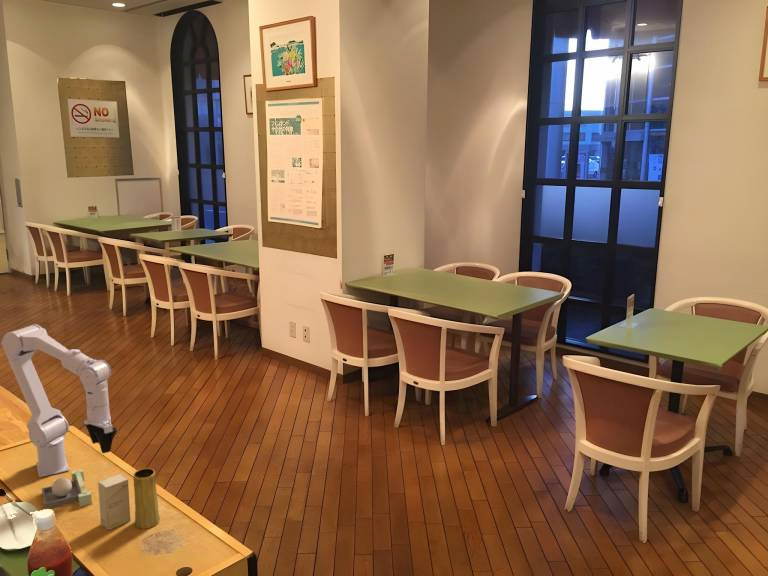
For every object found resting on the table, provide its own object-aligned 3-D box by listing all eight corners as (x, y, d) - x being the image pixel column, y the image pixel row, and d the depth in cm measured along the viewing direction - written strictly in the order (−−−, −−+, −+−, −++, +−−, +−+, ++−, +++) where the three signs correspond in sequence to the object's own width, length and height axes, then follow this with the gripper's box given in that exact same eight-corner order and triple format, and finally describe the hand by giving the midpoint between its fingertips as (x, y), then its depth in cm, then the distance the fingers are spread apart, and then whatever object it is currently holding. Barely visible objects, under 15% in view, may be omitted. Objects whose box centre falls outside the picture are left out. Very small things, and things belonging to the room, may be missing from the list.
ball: (51, 494, 178) (49, 477, 177) (71, 489, 180) (69, 472, 179) (53, 501, 173) (51, 485, 172) (73, 496, 176) (72, 480, 175)
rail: (72, 480, 185) (71, 471, 184) (83, 478, 187) (82, 468, 186) (79, 506, 172) (79, 497, 172) (91, 503, 174) (91, 494, 173)
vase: (151, 530, 163) (148, 480, 160) (130, 527, 164) (126, 477, 161) (164, 517, 169) (161, 468, 166) (143, 514, 170) (140, 465, 167)
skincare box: (108, 531, 162) (104, 488, 160) (100, 523, 165) (96, 481, 162) (131, 520, 167) (128, 479, 164) (123, 513, 170) (120, 472, 167)
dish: (42, 493, 178) (41, 488, 178) (77, 485, 183) (77, 480, 183) (45, 509, 171) (45, 503, 170) (82, 500, 176) (81, 494, 175)
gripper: (74, 399, 183) (78, 442, 186) (92, 415, 173) (96, 460, 176) (99, 393, 188) (102, 435, 191) (118, 408, 178) (121, 453, 181)
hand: (101, 447), depth 184 cm, fingers open, 7 cm apart
